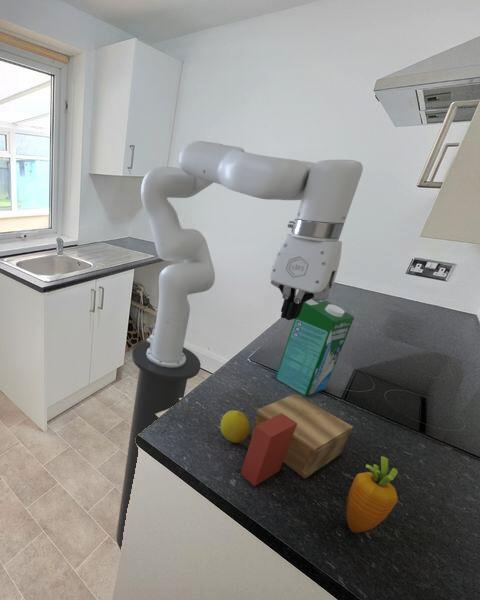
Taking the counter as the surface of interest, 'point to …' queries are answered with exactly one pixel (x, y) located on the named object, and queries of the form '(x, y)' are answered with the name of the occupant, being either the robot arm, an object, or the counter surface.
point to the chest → (309, 453)
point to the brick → (268, 448)
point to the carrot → (371, 497)
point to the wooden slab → (307, 421)
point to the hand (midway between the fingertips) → (288, 317)
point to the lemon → (234, 426)
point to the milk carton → (314, 346)
